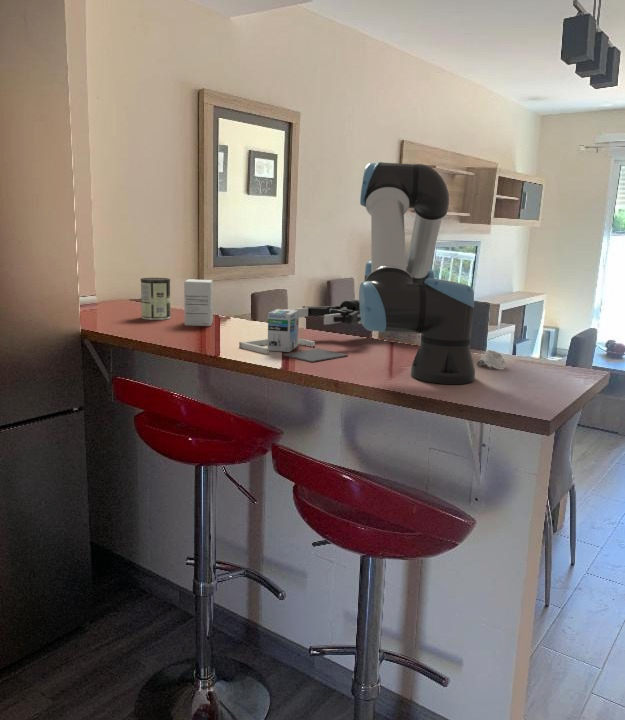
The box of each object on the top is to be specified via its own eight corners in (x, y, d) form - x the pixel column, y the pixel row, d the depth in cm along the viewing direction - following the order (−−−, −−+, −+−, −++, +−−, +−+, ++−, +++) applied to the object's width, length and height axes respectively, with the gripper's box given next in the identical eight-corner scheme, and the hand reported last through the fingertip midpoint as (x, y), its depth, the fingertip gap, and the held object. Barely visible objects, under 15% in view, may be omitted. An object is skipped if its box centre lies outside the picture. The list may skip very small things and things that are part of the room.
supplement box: (187, 321, 225) (187, 278, 222) (213, 322, 225) (213, 279, 222) (183, 325, 216) (183, 281, 213) (210, 326, 216) (210, 282, 213)
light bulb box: (289, 352, 177) (291, 314, 175) (266, 351, 179) (267, 312, 176) (298, 346, 188) (299, 309, 185) (276, 344, 189) (277, 308, 187)
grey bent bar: (314, 346, 187) (314, 341, 187) (266, 354, 174) (266, 348, 174) (287, 340, 195) (287, 335, 195) (239, 347, 182) (239, 342, 181)
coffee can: (156, 315, 237) (155, 276, 234) (176, 318, 232) (176, 279, 229) (134, 317, 228) (134, 278, 225) (155, 321, 223) (155, 280, 220)
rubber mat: (347, 356, 175) (347, 354, 175) (311, 362, 166) (311, 361, 165) (318, 349, 183) (318, 348, 183) (282, 355, 173) (282, 354, 173)
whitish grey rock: (488, 366, 174) (489, 348, 174) (511, 368, 170) (512, 350, 169) (473, 368, 169) (474, 350, 168) (496, 370, 164) (497, 351, 164)
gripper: (385, 328, 196) (338, 335, 181) (325, 317, 213) (278, 323, 198) (386, 304, 194) (340, 309, 179) (326, 295, 211) (279, 299, 196)
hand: (307, 316), depth 188 cm, fingers open, 13 cm apart
